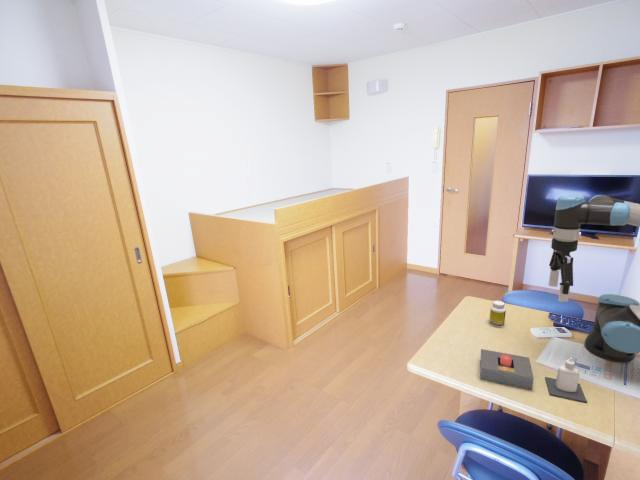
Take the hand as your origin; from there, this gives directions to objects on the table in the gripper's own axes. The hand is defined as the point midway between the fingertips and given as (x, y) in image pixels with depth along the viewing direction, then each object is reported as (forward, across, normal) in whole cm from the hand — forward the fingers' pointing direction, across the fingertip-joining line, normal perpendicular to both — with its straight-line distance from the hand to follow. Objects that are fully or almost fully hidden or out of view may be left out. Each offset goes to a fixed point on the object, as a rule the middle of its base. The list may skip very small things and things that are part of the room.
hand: (557, 293), depth 125 cm
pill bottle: (+26, -19, -17) cm, 37 cm away
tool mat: (+26, +21, 0) cm, 34 cm away
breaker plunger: (+25, +18, -18) cm, 36 cm away
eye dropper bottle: (+26, +21, 0) cm, 33 cm away
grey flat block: (+26, +18, -18) cm, 36 cm away
